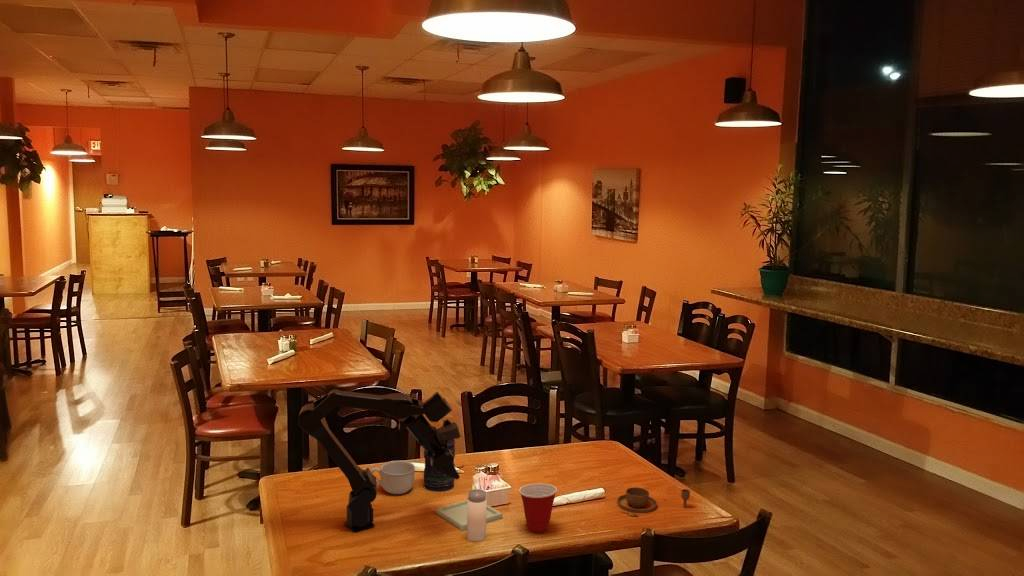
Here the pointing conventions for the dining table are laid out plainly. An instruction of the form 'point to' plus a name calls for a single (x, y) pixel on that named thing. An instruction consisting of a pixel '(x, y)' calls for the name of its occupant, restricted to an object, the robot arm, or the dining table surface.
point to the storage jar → (438, 474)
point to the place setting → (643, 500)
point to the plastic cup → (538, 505)
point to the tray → (464, 514)
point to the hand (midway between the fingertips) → (455, 472)
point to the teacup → (396, 476)
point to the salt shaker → (476, 515)
